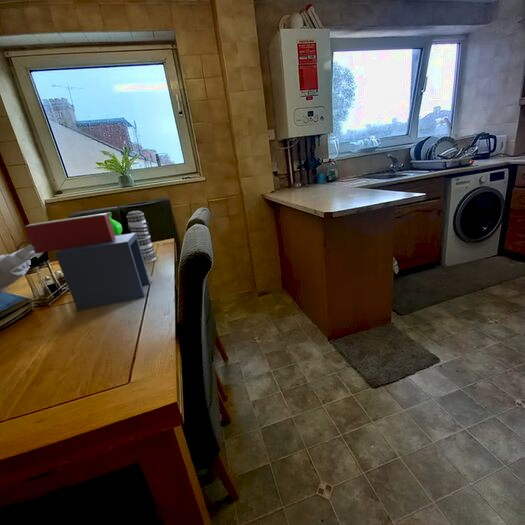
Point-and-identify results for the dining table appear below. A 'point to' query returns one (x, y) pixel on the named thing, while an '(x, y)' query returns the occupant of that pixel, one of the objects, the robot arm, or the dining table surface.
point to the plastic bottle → (115, 225)
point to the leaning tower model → (141, 234)
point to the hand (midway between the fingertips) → (40, 242)
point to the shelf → (104, 271)
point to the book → (70, 232)
